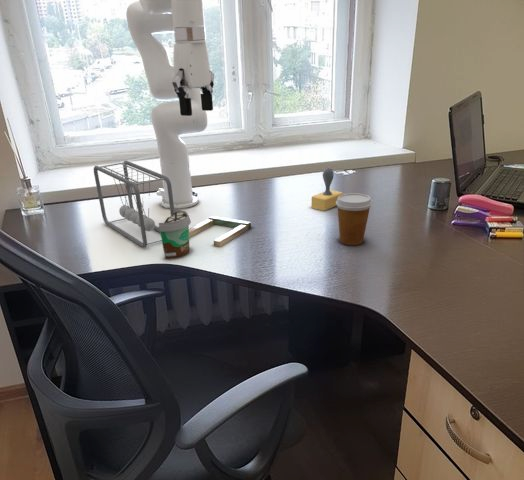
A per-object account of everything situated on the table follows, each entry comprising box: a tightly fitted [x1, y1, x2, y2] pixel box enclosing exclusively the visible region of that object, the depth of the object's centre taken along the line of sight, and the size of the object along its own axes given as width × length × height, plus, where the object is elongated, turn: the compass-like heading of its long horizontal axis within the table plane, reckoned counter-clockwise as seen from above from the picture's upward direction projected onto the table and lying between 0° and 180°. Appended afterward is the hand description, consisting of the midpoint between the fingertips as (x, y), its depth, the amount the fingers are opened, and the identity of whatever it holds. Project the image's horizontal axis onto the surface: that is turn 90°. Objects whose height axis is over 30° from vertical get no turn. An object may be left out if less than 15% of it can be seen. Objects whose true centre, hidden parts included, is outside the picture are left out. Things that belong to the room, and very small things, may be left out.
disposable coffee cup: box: [336, 192, 373, 246], centre depth 142 cm, size 10×10×12 cm
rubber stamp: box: [311, 167, 344, 212], centre depth 170 cm, size 10×6×12 cm, turn 137°
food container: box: [158, 209, 192, 260], centre depth 140 cm, size 12×6×10 cm, turn 168°
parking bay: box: [189, 215, 252, 248], centre depth 154 cm, size 14×17×2 cm
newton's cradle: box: [93, 160, 174, 249], centre depth 153 cm, size 30×10×18 cm, turn 36°
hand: (197, 112), depth 137 cm, fingers open, 9 cm apart
